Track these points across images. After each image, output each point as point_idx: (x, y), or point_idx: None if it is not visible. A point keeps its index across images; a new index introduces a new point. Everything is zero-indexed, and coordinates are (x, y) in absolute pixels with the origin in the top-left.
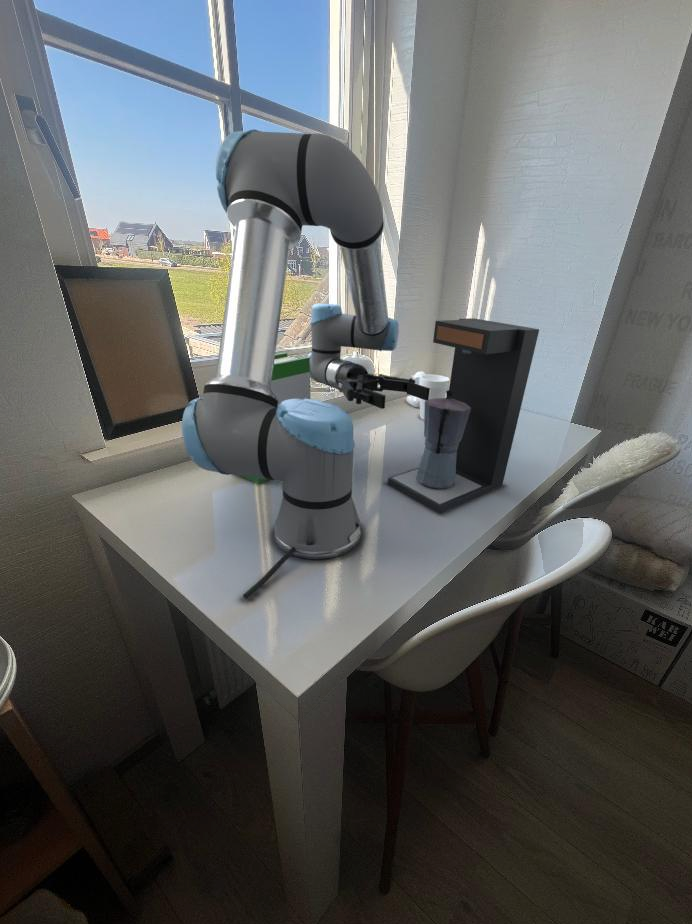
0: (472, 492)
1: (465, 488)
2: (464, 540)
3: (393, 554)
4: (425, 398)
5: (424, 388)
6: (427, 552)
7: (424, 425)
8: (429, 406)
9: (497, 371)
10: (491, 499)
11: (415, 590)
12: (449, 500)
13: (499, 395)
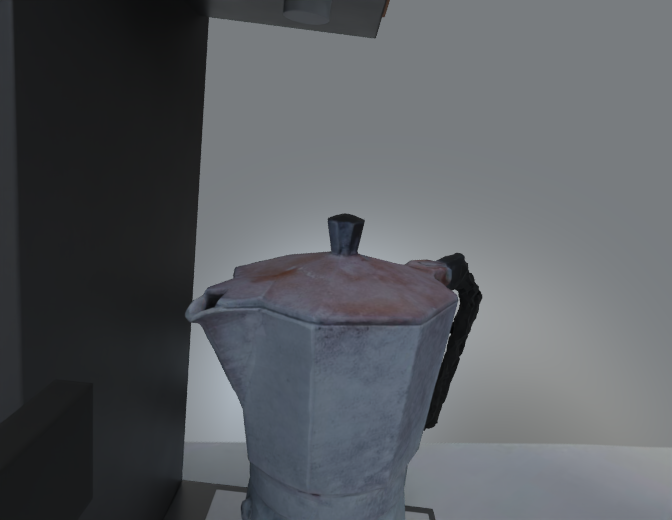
0: None
1: None
2: (449, 452)
3: (634, 509)
4: (85, 492)
5: (69, 415)
6: (551, 475)
7: (398, 440)
8: (457, 299)
9: (179, 99)
10: (230, 480)
11: (615, 446)
12: None
13: (185, 190)
